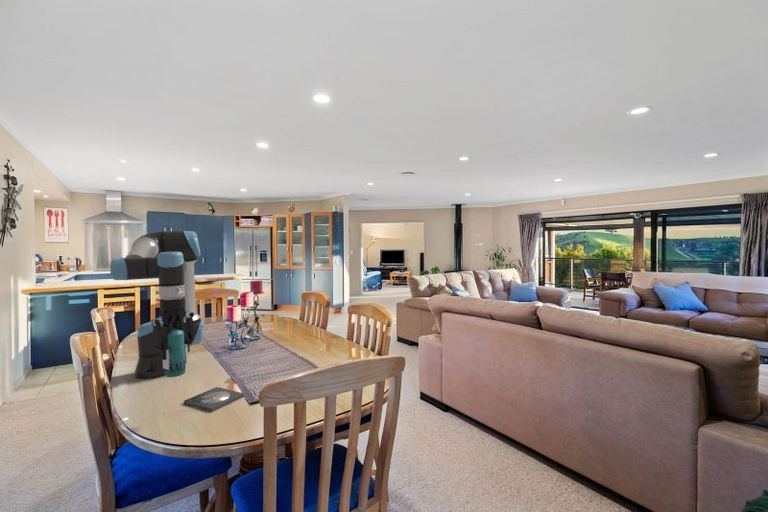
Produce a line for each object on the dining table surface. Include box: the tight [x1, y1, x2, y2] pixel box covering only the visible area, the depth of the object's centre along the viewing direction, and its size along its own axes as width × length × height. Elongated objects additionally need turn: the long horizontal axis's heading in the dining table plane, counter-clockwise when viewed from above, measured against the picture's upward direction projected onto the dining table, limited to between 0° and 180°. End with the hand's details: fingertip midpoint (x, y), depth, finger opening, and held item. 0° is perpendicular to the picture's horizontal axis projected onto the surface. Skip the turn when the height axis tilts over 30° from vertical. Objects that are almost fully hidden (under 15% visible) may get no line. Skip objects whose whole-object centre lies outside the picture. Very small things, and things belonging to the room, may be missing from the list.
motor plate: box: [183, 386, 245, 413], centre depth 138 cm, size 16×14×1 cm
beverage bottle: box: [164, 320, 187, 378], centre depth 125 cm, size 6×7×20 cm
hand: (175, 365), depth 126 cm, fingers closed on beverage bottle, 6 cm apart
